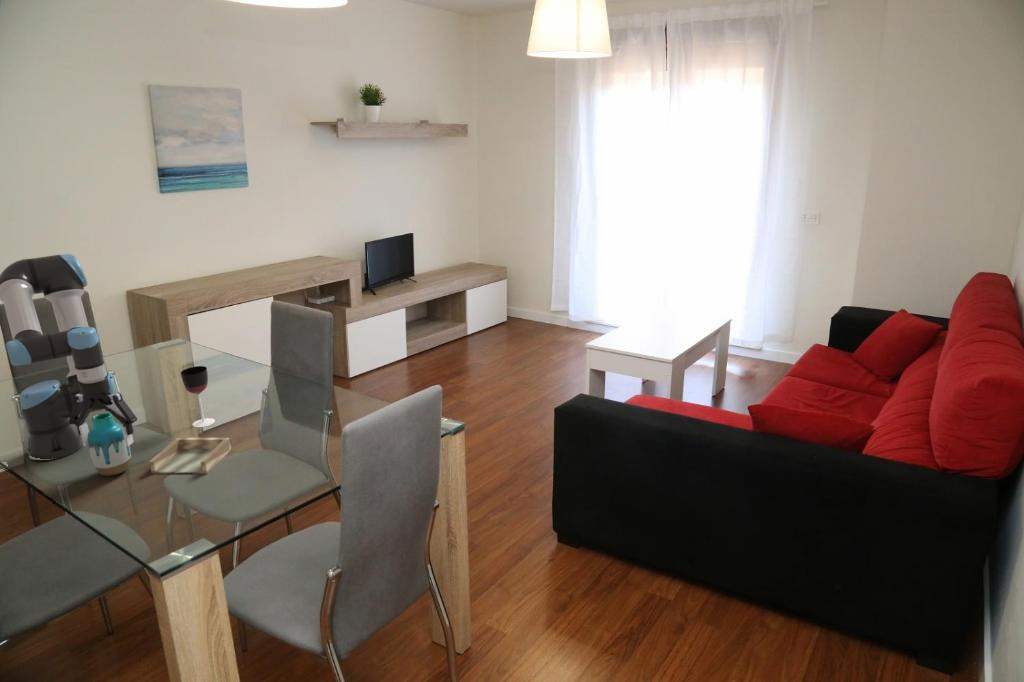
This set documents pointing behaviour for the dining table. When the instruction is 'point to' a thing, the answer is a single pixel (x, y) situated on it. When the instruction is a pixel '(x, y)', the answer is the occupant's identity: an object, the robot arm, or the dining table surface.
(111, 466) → the vase
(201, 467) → the rest
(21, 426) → the dining table surface
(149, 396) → the dining table surface
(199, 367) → the wineglass
